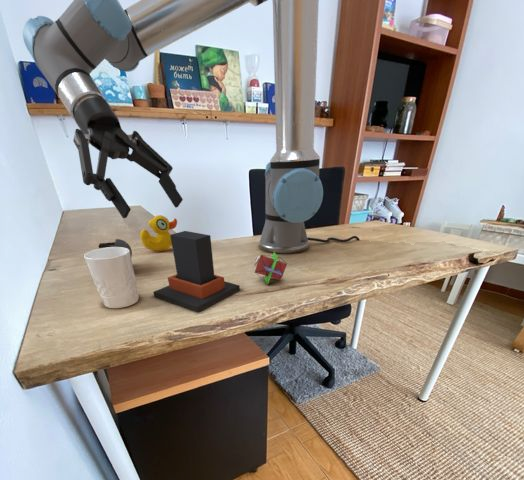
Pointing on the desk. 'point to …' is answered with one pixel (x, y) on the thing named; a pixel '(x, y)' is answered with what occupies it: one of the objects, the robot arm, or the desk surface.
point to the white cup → (113, 276)
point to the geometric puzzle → (270, 267)
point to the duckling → (163, 236)
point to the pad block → (193, 257)
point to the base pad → (196, 292)
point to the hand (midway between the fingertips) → (155, 208)
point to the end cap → (116, 245)
